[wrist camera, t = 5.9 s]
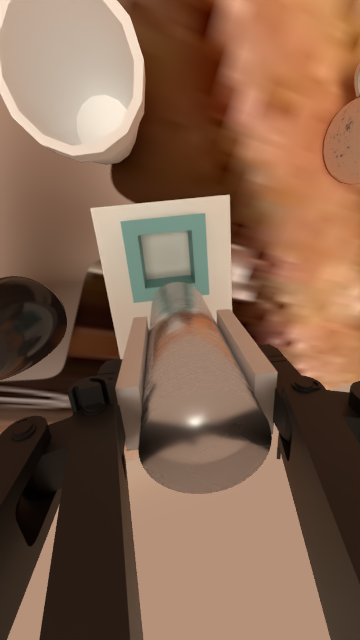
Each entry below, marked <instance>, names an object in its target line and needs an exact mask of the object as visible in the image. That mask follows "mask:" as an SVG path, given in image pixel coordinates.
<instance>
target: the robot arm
mask: <svg viewBox="0 0 360 640" xmlns="http://www.w3.org/2000/svg"><path fill="white" fill-rule="evenodd" d="M217 325H218V327H219V329H220V331H221V333H222V335H223V337H224V339H225V340H226V342H227V344H228V346H229V348H230V350H231V352H232V354H233V356H234V357H235V359H236V361H237V363H238V365H239V367H240V369H241V371H242V373H243V374H244V376H245V378H246V380H247V382H248V384H249V386H250V388H251V390H252V391H253V393H254V395H255V397H256V399H257V401H258V403H259V405H260V407H261V408H262V410H263V412H264V414H265V416H266V418H267V420H268V422H269V425H270V428H271V434H273V425H274V423H275V425H276V427H277V429H278V431H279V436H278V448H277V459H280V454H281V455H282V459H283V462H284V466H285V470H286V474H287V477H288V481H289V485H290V488H291V492H292V496H293V500H294V504H295V507H296V511H297V515H298V518H299V522H300V526H301V530H302V534H303V537H304V541H305V545H306V548H307V552H308V556H309V560H310V564H311V567H312V571H313V575H314V579H315V582H316V586H317V590H318V593H319V597H320V601H321V605H322V608H323V612H324V616H325V619H326V623H327V627H328V631H329V635H330V638H331V640H360V381H358V382H355V383H353V384H352V385H351V388H350V392H349V393H347V392H339V391H330V390H326V389H325V387H324V386H323V385H322V384H321V383H320V382H319V381H317V380H315V379H313V378H310V377H307V376H301V375H300V373H299V372H298V371H297V370H296V369H295V368H294V367H293V366H292V364H291V363H290V362H289V361H287V359H286V358H285V357H284V356H283V354H282V353H281V352H280V351H279V350H278V349H277V348H275V347H273V346H271V345H269V344H267V345H257V344H256V343H255V342H254V340H253V339H252V338H251V336H250V335H249V334H248V332H247V331H246V330H245V328H244V327H243V326H242V324H241V323H240V322H239V320H238V319H237V318H236V317H235V315H234V314H233V313H232V311H231V310H230V309H224V310H217ZM148 338H149V328H148V320H147V316H146V317H135V318H133V322H132V325H131V329H130V333H129V337H128V341H127V345H126V349H125V353H124V356H123V359H120V360H110V361H106V362H105V363H104V364H103V365H102V366H101V367H100V368H99V371H98V373H97V376H91V377H87V378H84V379H81V380H79V381H77V382H76V383H74V384H73V385H72V386H71V387H70V388H69V390H68V396H69V399H70V403H71V407H72V410H73V416H71V417H69V418H67V419H64V420H62V421H59V422H56V423H52V424H49V425H48V424H47V421H46V419H45V418H43V417H41V416H31V417H26V418H23V419H21V420H19V421H16V422H15V423H13V424H12V425H10V426H9V427H8V428H7V429H6V430H4V431H3V432H2V434H1V435H0V640H7V638H8V635H9V633H10V630H11V627H12V625H13V622H14V620H15V617H16V615H17V612H18V609H19V607H20V604H21V602H22V599H23V597H24V594H25V592H26V589H27V586H28V584H29V581H30V579H31V576H32V573H33V571H34V568H35V566H36V563H37V561H38V558H39V555H40V553H41V550H42V548H43V545H44V543H45V540H46V537H47V535H48V532H49V530H50V527H51V524H52V522H53V519H54V516H55V514H56V511H57V509H58V506H59V512H58V519H57V526H56V532H55V539H54V546H53V553H52V559H51V566H50V572H49V580H48V587H47V593H46V600H45V606H44V613H43V620H42V626H41V633H40V640H143V632H142V622H141V612H140V603H139V592H138V582H137V572H136V562H135V551H134V542H133V531H132V521H131V511H130V502H129V491H128V481H127V470H126V460H125V455H124V445H125V442H126V447H127V450H136V449H138V447H139V435H140V425H141V414H142V403H143V392H144V382H145V371H146V360H147V349H148ZM59 504H60V505H59Z"/></svg>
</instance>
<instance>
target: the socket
mask: <svg viewBox="0 0 360 640" xmlns="http://www.w3.org/2000/svg"><path fill="white" fill-rule="evenodd" d="M120 223H121V229H122V235H123V241H124V247H125V253H126V259H127V265H128V271H129V278H130V284H131V290H132V296H133V302H134V303H138V302H147V301H152V300H153V298H154V296H155V294H156V293H157V291H158V290H159V289H160V288H162V287H163V286H165V285H167V284H169V283H172V282H184V283H188V284H190V285H192V286H194V287H195V288H196V289H197V290H198V291H199V292H200V294H201V295H209V276H208V257H207V238H206V219H205V213H201V214H190V215H180V216H170V217H160V218H150V219H140V220H130V221H121V222H120ZM178 231H188V244H189V257H190V270H191V275H185V276H176V277H166V278H157V279H148V280H147V277H146V270H145V263H144V256H143V249H142V242H141V235H149V234H159V233H169V232H178Z"/></svg>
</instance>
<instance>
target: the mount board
mask: <svg viewBox="0 0 360 640" xmlns="http://www.w3.org/2000/svg"><path fill="white" fill-rule="evenodd" d="M90 209H91V214H92V219H93V224H94V229H95V234H96V239H97V244H98V249H99V254H100V259H101V264H102V269H103V274H104V279H105V284H106V289H107V294H108V299H109V304H110V309H111V314H112V319H113V324H114V329H115V334H116V339H117V344H118V349H119V354H120V359H123V356H124V353H125V349H126V345H127V341H128V337H129V333H130V329H131V325H132V322H133V318H135V317H146V316H147V320H148V328H150V317H151V306H152V301H147V302H138V303H134V302H133V296H132V290H131V284H130V278H129V271H128V265H127V259H126V253H125V247H124V241H123V235H122V229H121V223H120V222H121V221H130V220H140V219H150V218H160V217H170V216H180V215H190V214H201V213H205V219H206V238H207V257H208V276H209V295H202V297H203V299H204V301H205V303H206V305H207V307H208V308H209V310H210V312H211V314H212V316H213V318H214V320H215V322H216V323H217V310H224V309H230V310H231V311H232V282H231V233H230V195H221V196H211V197H201V198H190V199H180V200H170V201H159V202H149V203H139V204H128V205H118V206H108V207H99V208H98V207H97V208H90ZM141 242H142V249H143V256H144V263H145V270H146V277H147V280H148V279H157V278H166V277H176V276H185V275H191V270H190V257H189V244H188V231H178V232H169V233H159V234H149V235H141Z"/></svg>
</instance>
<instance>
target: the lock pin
mask: <svg viewBox="0 0 360 640" xmlns="http://www.w3.org/2000/svg"><path fill="white" fill-rule="evenodd" d="M271 440H272V437H271V428H270V425H269V422H268V420H267V418H266V416H265V414H264V412H263V410H262V408H261V407H260V405H259V403H258V401H257V399H256V397H255V395H254V393H253V391H252V390H251V388H250V386H249V384H248V382H247V380H246V378H245V376H244V374H243V373H242V371H241V369H240V367H239V365H238V363H237V361H236V359H235V357H234V356H233V354H232V352H231V350H230V348H229V346H228V344H227V342H226V340H225V339H224V337H223V335H222V333H221V331H220V329H219V327H218V325H217V323H216V322H215V320H214V318H213V316H212V314H211V312H210V310H209V308H208V307H207V305H206V303H205V301H204V299H203V297H202V295H201V294H200V292H199V291H198V290H197V289H196V288H195V287H194V286H192V285H190V284H188V283H184V282H172V283H169V284H167V285H165V286H163V287H162V288H160V289H159V290H158V291H157V293H156V294H155V296H154V298H153V300H152V306H151V317H150V328H149V338H148V349H147V360H146V371H145V382H144V392H143V403H142V414H141V425H140V435H139V447H138V450H139V457H140V461H141V463H142V465H143V467H144V469H145V470H146V472H147V473H148V474H149V475H150V476H151V477H152V478H153V479H154V480H155V481H156V482H158V483H160V484H161V485H163V486H165V487H167V488H169V489H172V490H175V491H178V492H183V493H191V494H203V493H212V492H218V491H221V490H225V489H227V488H230V487H233V486H235V485H237V484H239V483H241V482H242V481H244V480H246V479H247V478H248V477H250V476H251V475H252V474H253V473H254V472H255V471H257V469H258V468H259V467H260V466H261V465H262V463H263V462H264V460H265V459H266V457H267V455H268V452H269V450H270V446H271Z"/></svg>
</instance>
